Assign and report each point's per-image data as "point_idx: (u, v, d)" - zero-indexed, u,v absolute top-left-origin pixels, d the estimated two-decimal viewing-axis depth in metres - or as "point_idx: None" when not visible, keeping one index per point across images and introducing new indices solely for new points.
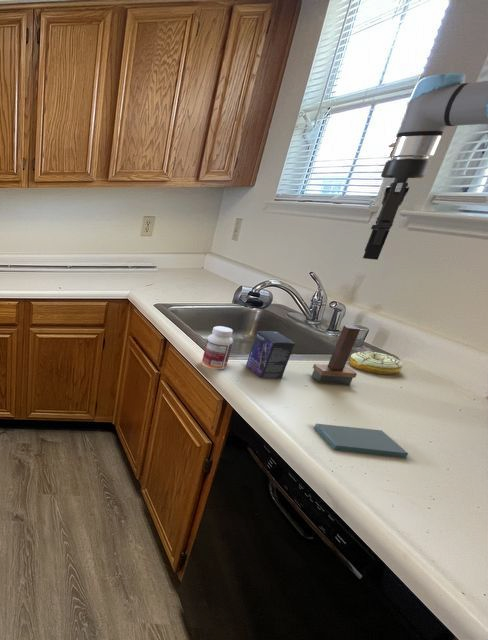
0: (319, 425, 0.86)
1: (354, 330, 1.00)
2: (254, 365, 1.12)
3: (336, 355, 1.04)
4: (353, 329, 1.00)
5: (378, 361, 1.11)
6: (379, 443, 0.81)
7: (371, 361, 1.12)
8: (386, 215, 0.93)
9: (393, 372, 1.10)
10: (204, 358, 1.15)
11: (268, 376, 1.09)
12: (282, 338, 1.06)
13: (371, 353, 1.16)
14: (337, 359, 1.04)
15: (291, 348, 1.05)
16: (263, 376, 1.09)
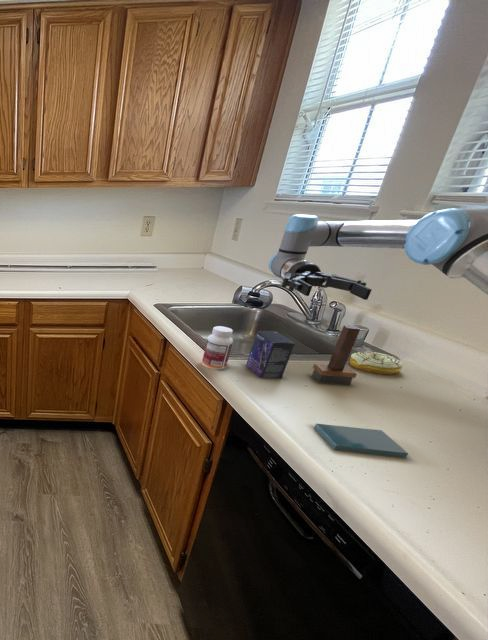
0: (319, 425, 0.86)
1: (354, 330, 1.00)
2: (254, 365, 1.12)
3: (336, 355, 1.04)
4: (353, 329, 1.00)
5: (378, 361, 1.11)
6: (379, 443, 0.81)
7: (371, 361, 1.12)
8: None
9: (393, 372, 1.10)
10: (204, 358, 1.15)
11: (268, 376, 1.09)
12: (282, 338, 1.06)
13: (371, 353, 1.16)
14: (337, 359, 1.04)
15: (291, 348, 1.05)
16: (263, 376, 1.09)
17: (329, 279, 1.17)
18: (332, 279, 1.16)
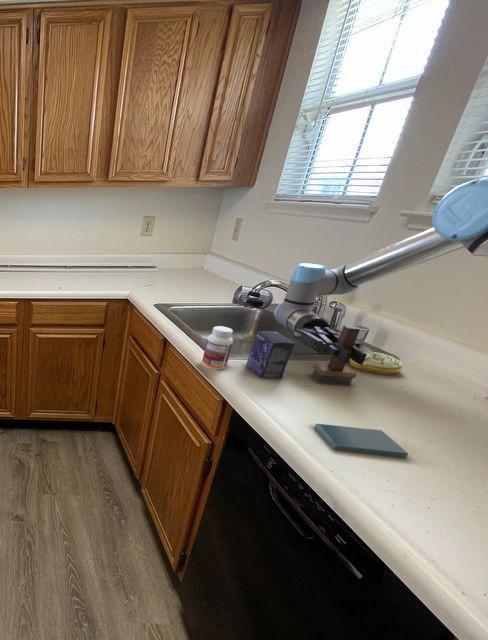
0: (319, 425, 0.86)
1: (354, 330, 1.00)
2: (254, 365, 1.12)
3: None
4: (353, 329, 1.00)
5: (378, 361, 1.11)
6: (379, 443, 0.81)
7: (371, 361, 1.12)
8: (311, 343, 1.08)
9: (393, 372, 1.10)
10: (204, 358, 1.15)
11: (268, 376, 1.09)
12: (282, 338, 1.06)
13: (371, 353, 1.16)
14: (337, 359, 1.04)
15: (291, 348, 1.05)
16: (263, 376, 1.09)
17: (332, 336, 1.10)
18: (334, 336, 1.10)
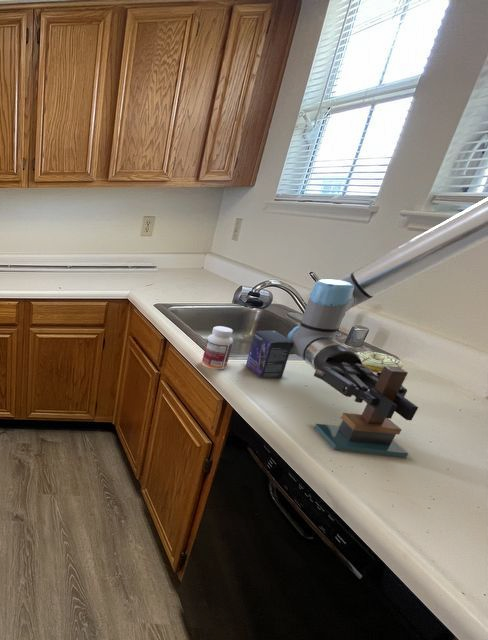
0: (319, 425, 0.86)
1: (399, 374, 0.75)
2: (253, 365, 1.12)
3: None
4: (398, 372, 0.75)
5: (378, 361, 1.11)
6: None
7: (371, 361, 1.12)
8: (339, 386, 0.83)
9: None
10: (204, 358, 1.15)
11: (268, 376, 1.08)
12: (280, 338, 1.06)
13: (371, 353, 1.16)
14: (374, 410, 0.79)
15: (289, 347, 1.05)
16: (263, 376, 1.09)
17: (365, 376, 0.85)
18: (368, 377, 0.84)
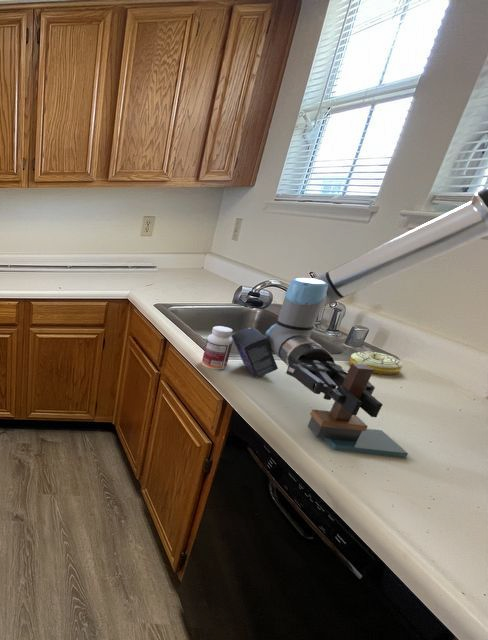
0: None
1: (366, 371, 0.76)
2: (246, 365, 1.12)
3: None
4: (364, 369, 0.76)
5: (378, 361, 1.11)
6: (379, 443, 0.81)
7: (371, 361, 1.12)
8: (309, 383, 0.84)
9: (393, 372, 1.10)
10: (204, 358, 1.15)
11: (262, 372, 1.08)
12: (253, 337, 1.06)
13: (371, 353, 1.16)
14: (341, 407, 0.79)
15: (265, 342, 1.05)
16: (257, 375, 1.09)
17: (335, 374, 0.86)
18: (338, 375, 0.85)
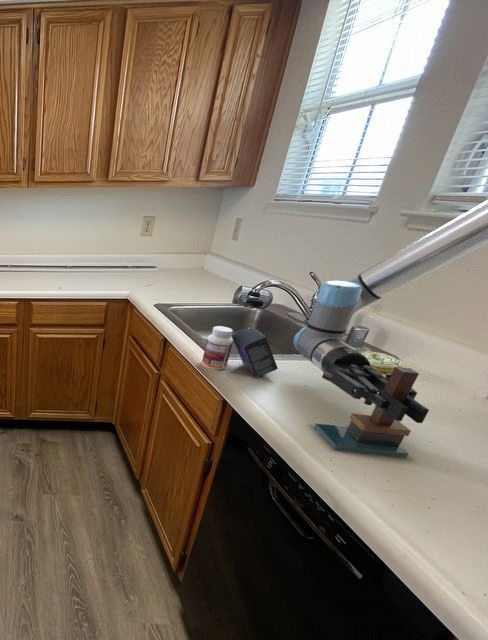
0: (319, 425, 0.86)
1: (410, 374, 0.74)
2: (246, 365, 1.12)
3: None
4: (409, 373, 0.74)
5: (378, 361, 1.11)
6: None
7: (371, 361, 1.12)
8: (348, 388, 0.83)
9: None
10: (204, 358, 1.15)
11: (262, 372, 1.08)
12: (253, 336, 1.07)
13: (371, 353, 1.16)
14: (384, 411, 0.78)
15: (265, 342, 1.05)
16: (257, 374, 1.09)
17: (374, 378, 0.84)
18: (377, 379, 0.84)
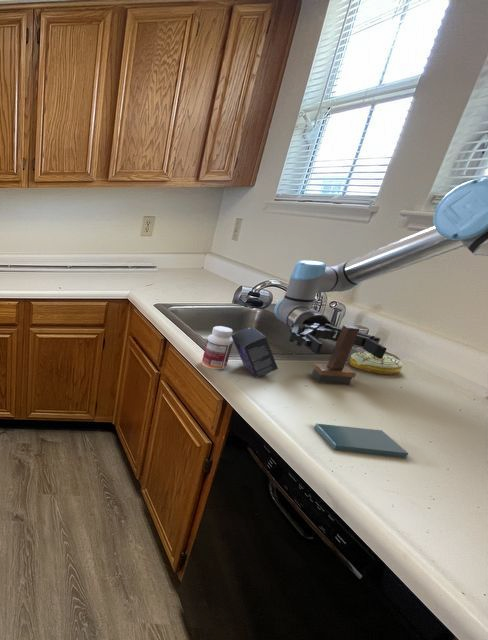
0: (319, 425, 0.86)
1: (354, 330, 1.00)
2: (246, 365, 1.12)
3: (335, 355, 1.04)
4: (353, 329, 1.00)
5: (378, 361, 1.11)
6: (379, 443, 0.81)
7: (371, 361, 1.12)
8: None
9: (393, 372, 1.10)
10: (204, 358, 1.15)
11: (262, 372, 1.08)
12: (253, 336, 1.07)
13: None
14: (336, 359, 1.04)
15: (265, 342, 1.05)
16: (257, 374, 1.09)
17: (339, 332, 1.10)
18: None
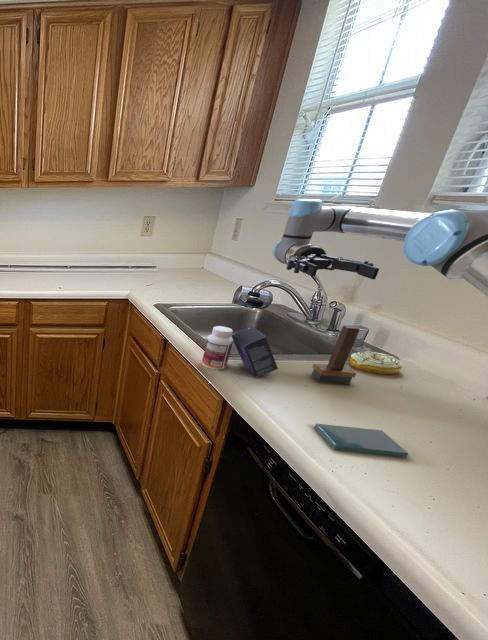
0: (319, 425, 0.86)
1: (354, 330, 1.00)
2: (246, 365, 1.12)
3: (335, 355, 1.04)
4: (353, 329, 1.00)
5: (378, 361, 1.11)
6: (379, 443, 0.81)
7: (371, 361, 1.12)
8: None
9: (393, 372, 1.10)
10: (204, 358, 1.15)
11: (262, 372, 1.08)
12: (253, 336, 1.07)
13: (371, 353, 1.16)
14: (336, 359, 1.04)
15: (265, 342, 1.05)
16: (257, 374, 1.09)
17: (335, 261, 1.15)
18: (338, 261, 1.15)
